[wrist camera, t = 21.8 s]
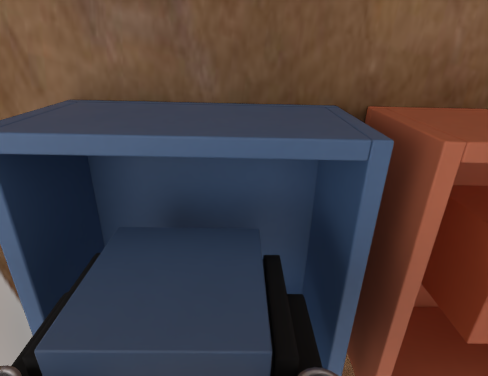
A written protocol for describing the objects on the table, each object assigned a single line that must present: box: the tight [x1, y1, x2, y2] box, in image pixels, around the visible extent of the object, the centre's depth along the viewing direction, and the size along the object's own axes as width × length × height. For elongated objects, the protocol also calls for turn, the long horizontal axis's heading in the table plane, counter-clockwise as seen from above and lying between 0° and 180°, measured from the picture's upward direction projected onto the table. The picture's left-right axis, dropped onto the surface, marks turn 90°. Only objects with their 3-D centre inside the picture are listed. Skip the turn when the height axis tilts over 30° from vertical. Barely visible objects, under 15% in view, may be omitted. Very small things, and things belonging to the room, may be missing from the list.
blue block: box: [34, 227, 272, 376], centre depth 9 cm, size 5×5×5 cm
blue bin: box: [0, 100, 394, 376], centre depth 13 cm, size 11×11×6 cm
